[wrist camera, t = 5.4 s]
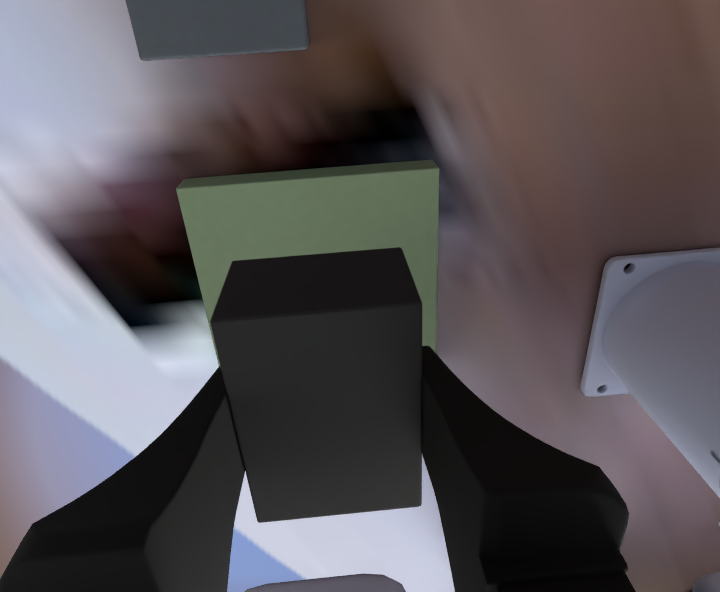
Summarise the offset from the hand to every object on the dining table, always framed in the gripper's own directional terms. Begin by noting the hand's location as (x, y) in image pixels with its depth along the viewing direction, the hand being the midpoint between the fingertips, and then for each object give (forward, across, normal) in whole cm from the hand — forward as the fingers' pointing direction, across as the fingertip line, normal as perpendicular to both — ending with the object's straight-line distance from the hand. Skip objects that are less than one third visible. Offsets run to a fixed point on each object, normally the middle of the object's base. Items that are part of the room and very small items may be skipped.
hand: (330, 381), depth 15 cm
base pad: (+8, 0, +1) cm, 8 cm away
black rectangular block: (+1, 0, 0) cm, 1 cm away
